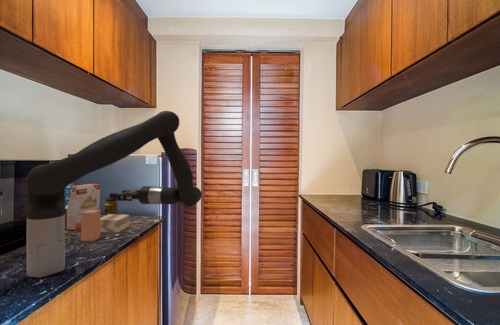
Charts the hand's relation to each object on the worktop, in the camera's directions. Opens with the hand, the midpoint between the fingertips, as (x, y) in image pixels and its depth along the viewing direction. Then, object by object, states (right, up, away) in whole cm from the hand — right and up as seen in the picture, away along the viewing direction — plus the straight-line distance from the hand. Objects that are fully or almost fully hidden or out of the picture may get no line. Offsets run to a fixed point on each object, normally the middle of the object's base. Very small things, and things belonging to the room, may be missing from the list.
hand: (116, 194), depth 103 cm
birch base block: (-11, -19, +16) cm, 27 cm away
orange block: (-12, -19, +1) cm, 23 cm away
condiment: (-20, -19, +32) cm, 42 cm away
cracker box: (-27, -19, +19) cm, 37 cm away
